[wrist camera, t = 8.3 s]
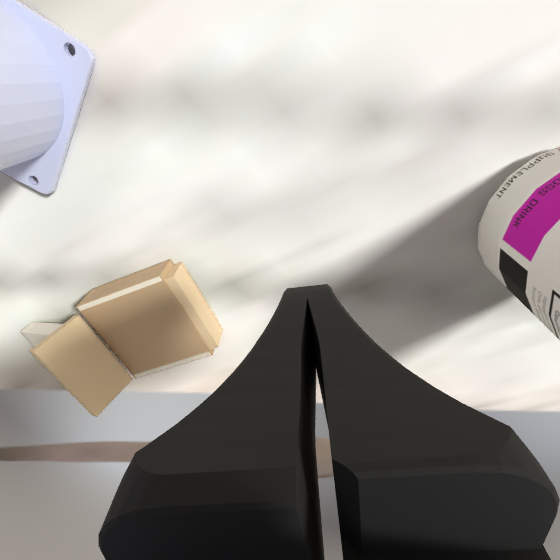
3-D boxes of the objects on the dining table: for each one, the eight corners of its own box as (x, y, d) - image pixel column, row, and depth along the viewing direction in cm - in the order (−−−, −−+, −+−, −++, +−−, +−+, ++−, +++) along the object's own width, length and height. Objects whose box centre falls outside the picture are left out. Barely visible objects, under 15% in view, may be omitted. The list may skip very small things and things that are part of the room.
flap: (33, 351, 19) (-6, 344, 23) (97, 416, 22) (52, 401, 25) (79, 315, 21) (36, 314, 25) (132, 378, 24) (86, 369, 27)
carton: (178, 255, 22) (168, 272, 20) (225, 332, 25) (220, 352, 23) (91, 289, 23) (75, 307, 21) (145, 358, 26) (135, 378, 24)
